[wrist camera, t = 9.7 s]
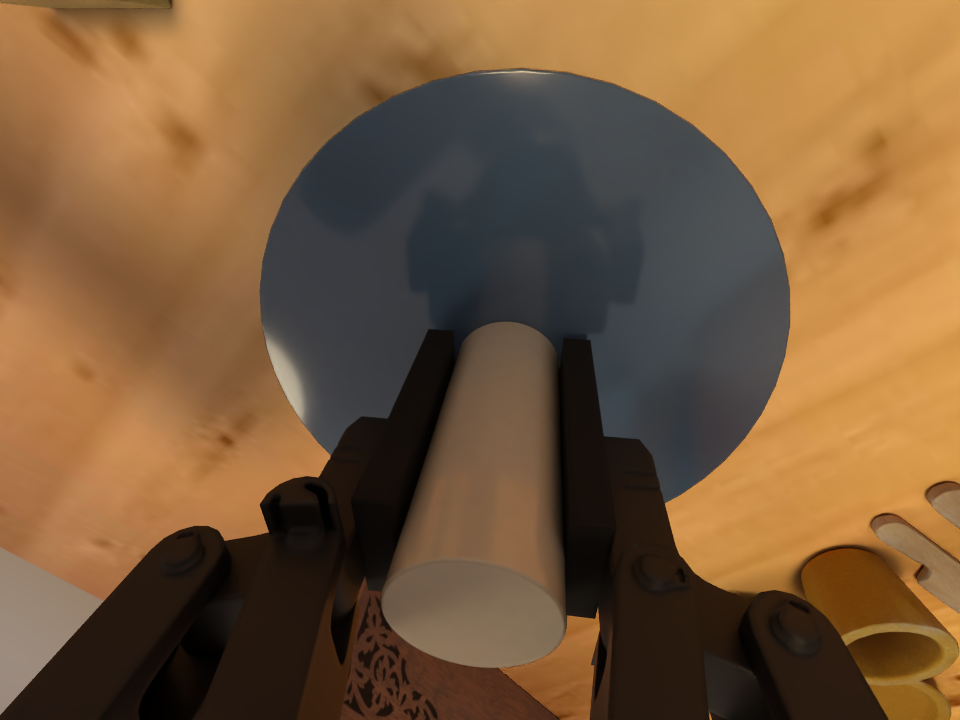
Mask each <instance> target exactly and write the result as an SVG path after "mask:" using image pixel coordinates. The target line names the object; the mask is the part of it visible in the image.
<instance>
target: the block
mask: <svg viewBox="0 0 960 720" xmlns="http://www.w3.org/2000/svg"><path fill="white" fill-rule="evenodd" d="M0 3H5V4H15V5H25V6H35V7H45V8H171V5H170V1H169V0H0Z"/></svg>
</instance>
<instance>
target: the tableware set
mask: <svg viewBox="0 0 960 720" xmlns="http://www.w3.org/2000/svg"><path fill="white" fill-rule="evenodd" d="M927 499H928V501H929V503H930V504H931V505H932V507H933V508H934V509H935V510H936V511H937V512H938V513H939V514H941V515H942V516H944V517H945V518H946V519H948V520H949V521H950V522H952V523H953V524H954V525H955V526H957V527H958V528H959V529H960V485H958V484H955V483H943V484H940V485H937V486H935V487H932V489H931V490H930V491H929V492H928V494H927ZM871 528H872V529H873V531H874V532H875V534H876V535H877V537H878V538H879V539H880V540H881V541H883V542H884V543H886V544H888V545H889V546H891V547H893V548H894V549H896V550H898V551H899V552H901V553H903V554H904V555H906V556H908V557H910V558H911V559H913V560H915V561H917V562H919V563H921V564H923V565H924V567H923V569H922V570H921V571H920V572H919V574H918V576H917V582H918V583H919V584H920V585H921V586H922V587H923V588H925V589H926V590H927V591H929V592H930V593H931V594H933V595H934V596H935V597H937V598H938V599H940V600H941V601H942V602H944V603H945V604H946V605H948V606H949V607H951V608H952V609H954V610H955V611H956V612H958V613H959V614H960V562H959V561H958V560H956V559H955V558H954V557H952V556H951V555H950V554H948V553H947V552H946V551H944V550H943V549H942V548H940V547H939V546H938V545H936V544H935V543H934V542H932V541H931V540H930V539H928V538H927V537H926V536H924V535H923V534H922V533H920V532H919V531H918V530H916V529H915V528H914V527H912V526H911V525H910V524H908V523H907V522H905V521H904V520H903V519H901V518H900V517H897V516H894V515H884V516H879V517H877V518H876V519H874V521H873V522H872V525H871ZM801 581H802V585H803V588H804V592H805V595H806V599H807V602H809V603H811V604H812V605H813V606H814V607H815V608H817V609H818V610H819V611H820V612H822V613H823V614H824V615H825V616H826V617H827V618H828V619H829V621H830V622H831V623H832V625H833V626H834V627H835V629H836V630H837V631H838V633H839V634H840V636H841V638H842V639H843V641H844V643H845V645H846V646H847V648H848V650H849V652H850V653H851V655H852V657H853V658H854V660H855V662H856V664H857V665H858V667H859V669H860V671H861V672H862V674H863V676H864V677H865V679H866V681H867V683H868V684H869V686H870V688H871V690H872V691H873V693H874V695H875V696H876V698H877V700H878V702H879V703H880V705H881V707H882V708H883V710H884V712H885V714H886V715H887V717H888V719H889V720H950V717H951V707H950V704H949V702H948V700H947V699H946V697H945V696H944V695H943V694H942V693H941V692H939V691H938V690H937V689H935V688H934V687H932V686H931V685H929V684H927V683H926V682H924V681H922V680H925V679H928V678H930V677H933V676H935V675H938V674H940V673H942V672H943V671H944V670H946V669H947V668H948V667H950V666H951V665H952V664H953V663H954V662H955V660H956V659H957V657H958V655H959V647H958V643H957V641H956V639H955V638H954V637H953V636H952V635H951V634H950V633H949V632H948V631H947V630H946V628H945V627H944V626H943V625H942V624H941V623H940V622H939V621H938V620H937V619H936V618H935V616H934V615H933V614H932V613H931V612H930V611H929V610H928V609H927V608H926V607H925V605H924V604H923V603H922V602H921V601H920V600H919V599H918V598H917V597H916V596H915V594H914V593H913V592H912V591H911V590H910V589H909V588H908V587H907V586H906V584H905V583H904V582H903V581H902V580H901V579H900V578H899V577H898V576H897V575H896V573H895V572H894V571H893V570H892V569H891V568H890V567H889V566H888V565H887V563H886V562H885V561H884V560H882V559H881V558H880V557H878V556H877V555H875V554H873V553H871V552H867V551H863V550H859V549H838V550H833V551H828V552H825V553H823V554H821V555H818V556H817V557H815V558H814V559H812V560H810V561H809V562H808V563H807V564H806V565H805V567H804V569H803V570H802V573H801ZM709 713H710V712H709Z"/></svg>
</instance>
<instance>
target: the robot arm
mask: <svg viewBox="0 0 960 720" xmlns="http://www.w3.org/2000/svg"><path fill="white" fill-rule="evenodd" d="M454 362H455V360H454V331H451V330H436V329H428V331H427V333H426V336H425V338H424V340H423V342H422V344H421V347H420V349H419V351H418V353H417V355H416V358H415V360H414V362H413V364H412V366H411V369H410V371H409V373H408V375H407V377H406V380H405V382H404V384H403V386H402V388H401V391H400V393H399V395H398V397H397V399H396V402H395V404H394V406H393V408H392V410H391V413H390V415H389V417H388V418H377V417H365V416H361V417H360V418H359V419H357V420H356V421H355V422H354V423H352V424H351V425H350V426H349V427H348V428H346V430H345V431H344V433H343V435H342V437H341V439H340V440H339V442H338V446H337V447H336V448H335V449H334V451H333V453H332V455H331V458H330V460H328V462H327V464H326V466H325V467H324V469H323V471H322V473H321V475H320V476H319V478H317V477H309V476H306V477H300V478H293V479H291V480H289V481H286V482H284V483H281V484H279V485H278V486H277V487H275V488H274V489H273V490H271V491H270V492H269V493H267V495H266V496H265V498H264V499H263V501H262V502H261V503H260V507H261V510H262V513H263V516H264V519H265V522H266V524H267V527H268V530H269V533H265V534H261V535H257V536H251V537H245V538H239V539H233V540H228V541H224V539H223V537H222V536H221V534H220V532H219V531H218V530H216V529H214V528H211V527H209V526H193V527H189V528H185V529H182V530H179V531H177V532H175V533H173V534H171V535H169V536H168V537H166V538H164V539H163V540H162V541H160V542H159V543H158V544H157V545H156V546H155V547H153V548H152V549H151V550H150V551H149V552H148V554H147V555H146V556H145V557H144V558H143V559H142V560H141V561H140V562H139V563H138V565H137V566H136V567H135V568H134V569H133V570H132V571H131V572H130V573H129V574H128V575H127V577H126V578H125V579H124V580H123V581H122V582H121V583H120V584H119V585H118V586H117V588H116V589H115V590H114V591H113V592H112V593H111V594H110V595H109V596H108V597H107V599H106V600H105V601H104V602H103V603H102V604H101V605H100V606H99V608H97V610H96V611H95V612H94V613H93V614H92V615H91V616H90V617H89V618H88V619H87V621H86V622H85V623H84V624H83V625H82V626H81V627H80V628H79V629H78V630H77V632H76V633H75V634H74V635H73V636H72V637H71V638H70V639H69V640H68V641H67V642H66V644H65V645H64V646H63V647H62V648H61V649H60V650H59V651H58V652H57V653H56V655H55V656H54V657H53V658H52V659H51V660H50V661H49V662H48V663H47V664H46V666H45V667H44V668H43V669H42V670H41V671H40V672H39V673H38V674H37V675H36V676H35V678H34V679H33V680H32V681H31V682H30V683H29V684H28V685H27V686H26V687H25V689H24V690H23V691H22V692H21V693H20V694H19V695H18V696H17V697H16V698H15V700H14V701H13V702H12V703H11V704H10V705H9V706H8V707H7V708H6V709H5V711H4V712H3V713H2V714H1V715H0V720H340V718H341V712H342V707H343V701H344V696H345V690H346V685H347V679H348V674H349V668H350V662H351V657H352V651H353V646H354V640H355V635H356V629H357V624H358V618H359V600H358V594H359V591H360V588H361V585H362V583H363V580H364V577H365V578H366V583H367V588H368V590H370V591H378V592H381V591H382V588H383V585H384V582H385V578H386V575H387V572H388V569H389V566H390V563H391V560H392V556H393V553H394V550H395V547H396V544H397V541H398V538H399V535H400V531H401V528H402V525H403V522H404V519H405V516H406V513H407V510H408V506H409V503H410V500H411V497H412V494H413V491H414V488H415V484H416V481H417V478H418V475H419V472H420V469H421V466H422V463H423V459H424V456H425V453H426V450H427V447H428V444H429V441H430V437H431V434H432V431H433V428H434V425H435V422H436V419H437V416H438V412H439V409H440V406H441V403H442V400H443V397H444V394H445V390H446V387H447V384H448V381H449V378H450V375H451V372H452V369H453V365H454ZM560 395H561V430H562V465H563V501H564V536H565V565H566V595H567V615H570V616H577V617H585V618H593V619H595V617H596V613H597V609H598V610H599V622H600V632H599V635H598V639H597V643H596V647H595V651H594V655H593V659H592V663H591V665H594V676H593V688H592V699H591V711H590V720H710V719H709V712H710V714H711V718H712V720H889V719H888V717H887V715H886V714H885V712H884V710H883V708H882V707H881V705H880V703H879V702H878V700H877V698H876V696H875V695H874V693H873V691H872V690H871V688H870V686H869V684H868V683H867V681H866V679H865V677H864V676H863V674H862V672H861V671H860V669H859V667H858V665H857V664H856V662H855V660H854V658H853V657H852V655H851V653H850V652H849V650H848V648H847V646H846V645H845V643H844V641H843V639H842V638H841V636H840V634H839V633H838V631H837V630H836V629H835V627H834V626H833V625H832V623H831V622H830V621H829V619H828V618H827V617H826V616H825V615H824V614H823V613H822V612H820V611H819V610H818V609H817V608H815V607H814V606H813V605H812V604H811V603H809V602H807V601H805V600H803V599H801V598H799V597H797V596H795V595H793V594H791V593H786V592H781V591H776V590H773V591H766V592H760V593H759V594H758V595H757V596H755V597H754V598H753V599H752V600H751V601H750V600H748V599H745V598H743V597H740V596H738V595H735V594H733V593H730V592H728V591H725V590H723V589H720V588H718V587H716V586H714V585H712V584H710V583H708V582H706V581H705V580H703V579H702V578H700V577H699V576H698V575H696V574H695V573H694V572H693V571H692V570H691V568H690V567H689V566H688V564H687V563H686V562H685V560H684V559H683V558H682V557H681V556H680V555H679V553H678V551H677V548H676V546H675V542H674V538H673V534H672V530H671V526H670V523H669V519H668V515H667V511H666V507H665V503H664V499H663V495H662V491H660V483H659V479H658V476H657V472H656V468H655V464H654V460H653V456H652V454H651V453H650V452H649V451H648V449H647V448H646V447H645V446H644V444H643V443H642V442H641V441H640V439H630V438H619V437H608V436H604V434H603V427H602V419H601V412H600V405H599V398H598V391H597V384H596V376H595V369H594V362H593V355H592V348H591V341H590V340H583V339H568V338H564V339H563V348H562V357H561V365H560Z"/></svg>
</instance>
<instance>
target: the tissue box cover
mask: <svg viewBox="0 0 960 720" xmlns="http://www.w3.org/2000/svg"><path fill="white" fill-rule="evenodd" d="M380 597H381V592H378V591H370V590H368V588H367V583H366V578H365V577H364V580H363V583H362V585H361V588H360V591H359V594H358V600H359V618H358V624H357V629H356V635H355V640H354V646H353V651H352V657H351V662H350V668H349V674H348V679H347V685H346V690H345V696H344V701H343V707H342V712H341V718H340V720H559V719H558V718H557V717H555V716H554V715H553V714H552V713H551V712H549V711H548V710H547V709H546V708H544V707H543V706H542V705H541V704H540V703H538V702H537V701H536V700H535V699H534V698H532V697H531V696H530V695H529V694H528V693H526V692H525V691H524V690H523V689H521V688H520V687H519V686H518V685H517V684H515V683H514V682H513V681H512V680H511V679H509V678H508V677H507V676H506V675H505V674H503V673H502V672H501V671H500V670H498V669H497V668H482V667H473V666H467V665H461V664H457V663H453V662H449V661H446V660H442V659H439V658H437V657H434V656H432V655H429V654H427V653H425V652H423V651H421V650H419V649H417V648H416V647H414V646H412V645H411V644H409V643H408V642H406V641H405V640H404V639H402V638H401V637H400V636H399V635H398V634H397V633H396V632H395V631H394V630H393V629H392V628H391V627H390V625H389V624H388V622H387V621H386V619H385V617H384V615H383V612H382V608H381V598H380Z"/></svg>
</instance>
